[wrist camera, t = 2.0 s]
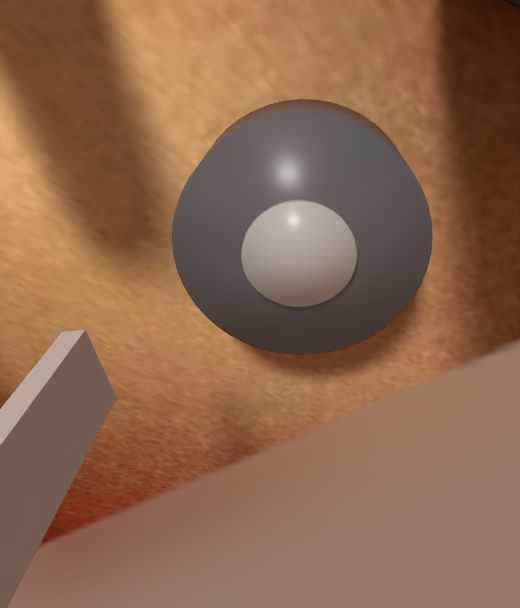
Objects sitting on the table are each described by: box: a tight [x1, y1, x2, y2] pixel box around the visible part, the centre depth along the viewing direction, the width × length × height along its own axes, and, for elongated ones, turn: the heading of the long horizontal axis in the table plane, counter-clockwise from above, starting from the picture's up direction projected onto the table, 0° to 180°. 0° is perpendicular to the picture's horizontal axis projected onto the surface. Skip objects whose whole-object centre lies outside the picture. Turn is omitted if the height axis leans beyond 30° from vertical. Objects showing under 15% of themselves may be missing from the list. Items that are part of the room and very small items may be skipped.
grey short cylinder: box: [172, 99, 432, 355], centre depth 19 cm, size 10×10×4 cm
